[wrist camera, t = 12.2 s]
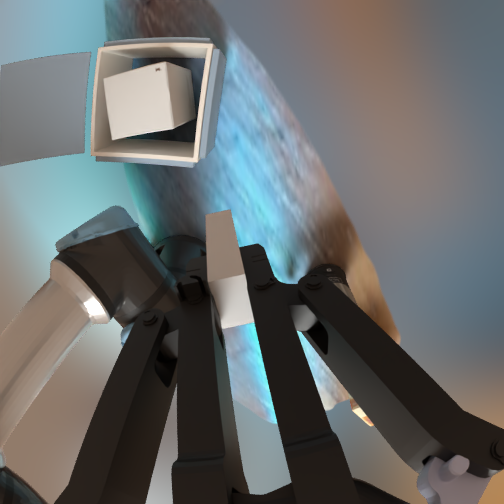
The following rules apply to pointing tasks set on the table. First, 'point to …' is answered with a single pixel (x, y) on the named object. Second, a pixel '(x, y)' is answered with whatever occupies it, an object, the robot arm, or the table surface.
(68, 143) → the flap
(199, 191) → the table surface
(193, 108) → the supplement box
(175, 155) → the carton
